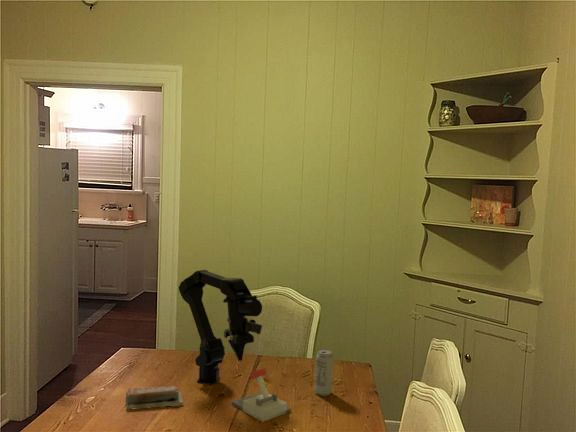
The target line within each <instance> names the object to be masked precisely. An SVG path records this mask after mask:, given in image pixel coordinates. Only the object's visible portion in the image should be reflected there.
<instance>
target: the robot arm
mask: <svg viewBox="0 0 576 432" xmlns="http://www.w3.org/2000/svg"><path fill="white" fill-rule="evenodd" d="M207 285H208V286H210V287H214V288H216V289H217V290H219V291H220V292H221V294H223V295H224V296H225V298H224V299H223V300H222V302H223V303H227V316H228V318H226V321H227V322H228V328H225V329H224V330H223V338H225V339H227V338H228V337H229V339H228V341H227V342H228V343H229V345H230V347H231V349H232V351H233V353H234V354H235V357H236V359H237V361H238V362H242V361H243V356H244V350H245V348H246V347H245V346H246V345H247V344H250V343H254V342H255V336H254V335H253V334H252V333H255V334H257V335H261V331H262V328H263V325H262V324H261V323H257V321H256V320H255V319H252V318H249V320H248V317H258V316H260V315H261V314H262V310H263V304H262V302H261V301H260V300H259V299H258V296H257V295H253V294H252V293H251V291H250V290H249V288H248V286H247V284H246V283H245V280H244V279H243V278H241V277H240V278H239V277H225V276H222V275H220V274H216V273H215V272H211V271H209V270H207V269H200V270H195V271H194V272H193V273H192V274H191V275H189V276H188V277H186V278H185V279H184V280H181V282H180V283H179V285H178V290H179V293H180V296H181V297H182V299H183V301H184V302H186V303H187V304H188V305H189V308H190V312H191V314H192V317H193V321H194V323H195V326H196V329H197V332H198V335H199V338H200V345H199V352H200V353H199V354H198V356H197V357H196V358H195V360H194V361H195V365H196V366H198V367H199V369H198V371H199V373H198V379H197V380H196V382H197V383H202V384H208V385H214V384H215V383H216V382H217V381H219V380H220V379H221V378H220V368H219V365H220V364H222V363H223V360H224V357H225V354H226V353H225V352H226V351H225V349H226V348H225V346H224V345H223V340H222V339H221V337H218V338H217V336H215V334H214V332H213V329H212V328H213V327H212V326H211V323H210V320H209V317H208V314H207V311H206V309H205V305H204V303H203V296H204V287H205V286H207ZM246 316H247V317H246ZM250 332H252V333H250Z"/></svg>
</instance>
